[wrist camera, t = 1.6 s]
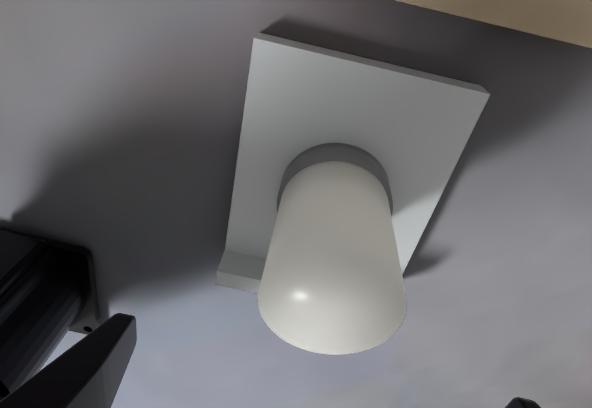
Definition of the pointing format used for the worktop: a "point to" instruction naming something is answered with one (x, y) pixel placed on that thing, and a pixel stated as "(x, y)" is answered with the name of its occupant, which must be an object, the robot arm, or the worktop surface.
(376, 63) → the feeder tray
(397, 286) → the sleeve
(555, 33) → the socket board
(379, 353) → the worktop surface
